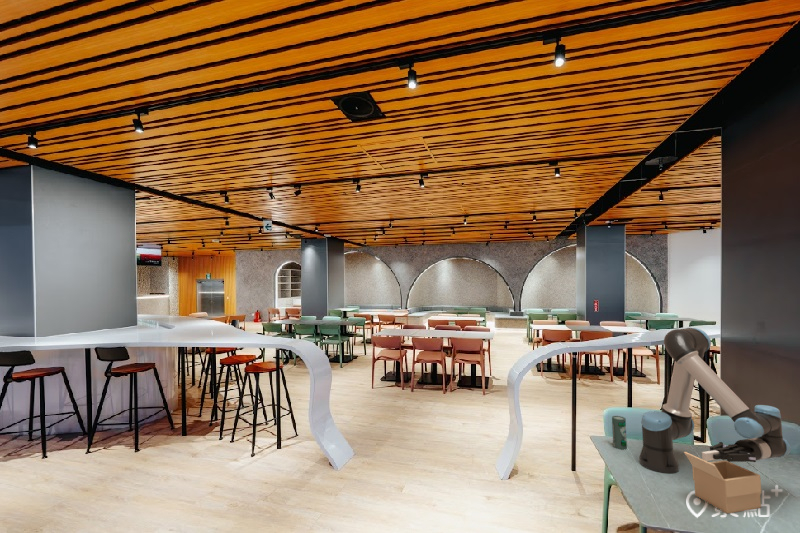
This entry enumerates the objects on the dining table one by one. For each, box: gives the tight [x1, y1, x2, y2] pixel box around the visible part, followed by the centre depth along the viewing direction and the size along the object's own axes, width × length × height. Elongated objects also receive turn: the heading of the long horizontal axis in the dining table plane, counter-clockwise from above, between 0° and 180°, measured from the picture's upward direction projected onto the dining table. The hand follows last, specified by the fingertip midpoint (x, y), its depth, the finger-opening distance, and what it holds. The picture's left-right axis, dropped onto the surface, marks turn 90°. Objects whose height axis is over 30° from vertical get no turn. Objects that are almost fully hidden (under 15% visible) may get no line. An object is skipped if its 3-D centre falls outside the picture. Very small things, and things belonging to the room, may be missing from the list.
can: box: [611, 415, 628, 451], centre depth 198 cm, size 6×6×15 cm
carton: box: [692, 460, 762, 514], centre depth 147 cm, size 16×13×12 cm
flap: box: [683, 451, 724, 481], centre depth 145 cm, size 7×12×1 cm
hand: (703, 456), depth 144 cm, fingers closed
